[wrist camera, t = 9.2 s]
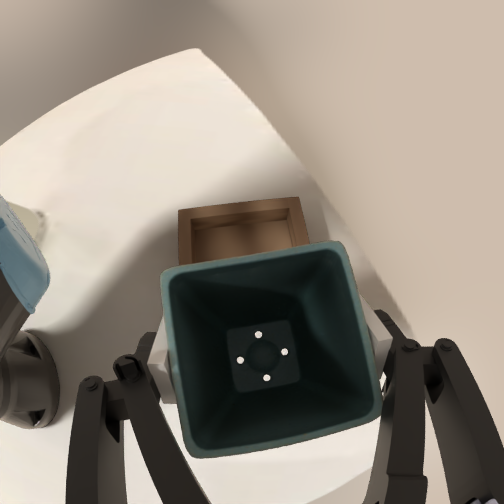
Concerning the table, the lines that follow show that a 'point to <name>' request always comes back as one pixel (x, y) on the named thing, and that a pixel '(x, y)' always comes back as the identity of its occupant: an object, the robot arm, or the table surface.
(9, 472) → the table surface
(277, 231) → the wooden tray
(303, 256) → the flower pot
